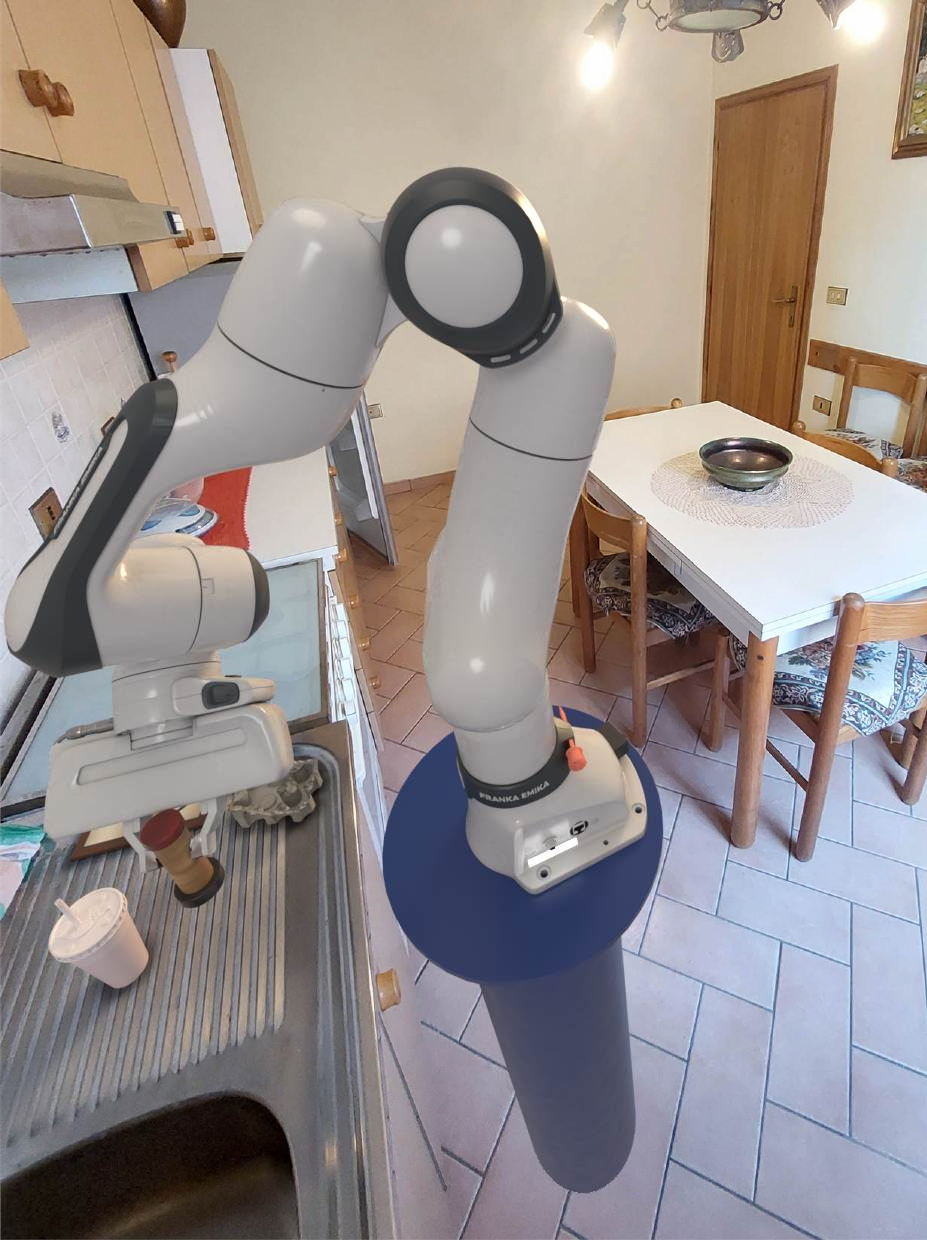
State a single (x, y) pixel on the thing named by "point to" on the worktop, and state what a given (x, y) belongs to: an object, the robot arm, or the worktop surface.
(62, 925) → the smoothie
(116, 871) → the worktop surface
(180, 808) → the drawing board
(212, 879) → the stamp
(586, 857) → the robot arm
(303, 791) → the egg carton
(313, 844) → the worktop surface
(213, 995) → the worktop surface
